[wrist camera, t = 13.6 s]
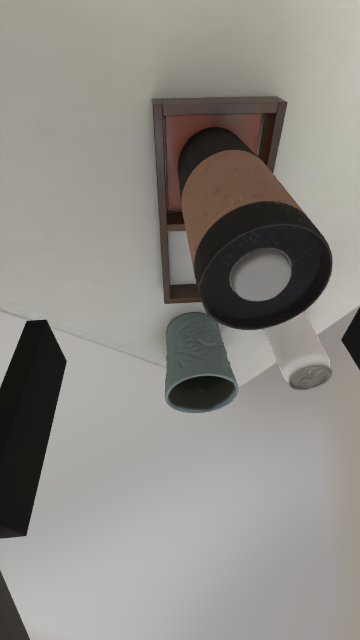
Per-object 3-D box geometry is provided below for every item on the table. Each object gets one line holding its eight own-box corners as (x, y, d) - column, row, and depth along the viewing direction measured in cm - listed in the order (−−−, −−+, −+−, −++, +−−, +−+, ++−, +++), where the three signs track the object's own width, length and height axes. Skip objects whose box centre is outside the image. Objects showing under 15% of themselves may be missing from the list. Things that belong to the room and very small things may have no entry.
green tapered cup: (208, 299, 44) (222, 365, 35) (232, 337, 50) (249, 400, 42) (150, 325, 47) (150, 391, 38) (180, 358, 53) (186, 420, 45)
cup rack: (163, 290, 42) (164, 304, 40) (152, 98, 26) (152, 104, 24) (242, 285, 42) (247, 299, 40) (276, 96, 27) (287, 101, 25)
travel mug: (263, 148, 30) (366, 258, 16) (221, 213, 34) (271, 344, 20) (199, 105, 27) (254, 191, 13) (162, 182, 31) (172, 310, 17)
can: (309, 303, 46) (346, 365, 37) (290, 331, 50) (319, 393, 42) (271, 298, 45) (300, 362, 36) (255, 327, 49) (277, 390, 40)
